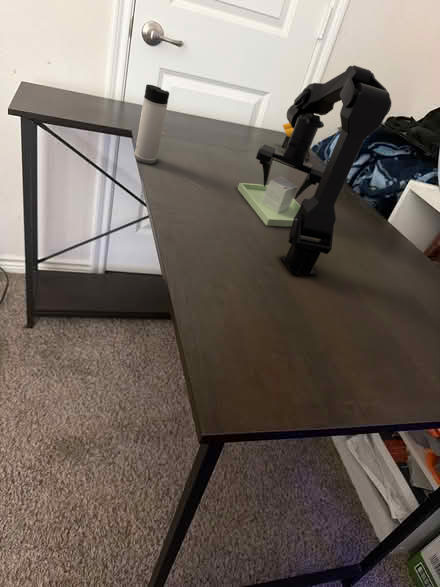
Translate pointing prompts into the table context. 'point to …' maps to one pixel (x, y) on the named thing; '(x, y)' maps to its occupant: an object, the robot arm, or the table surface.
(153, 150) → the travel mug
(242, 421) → the table surface
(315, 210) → the robot arm
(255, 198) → the tray
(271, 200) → the product carton
